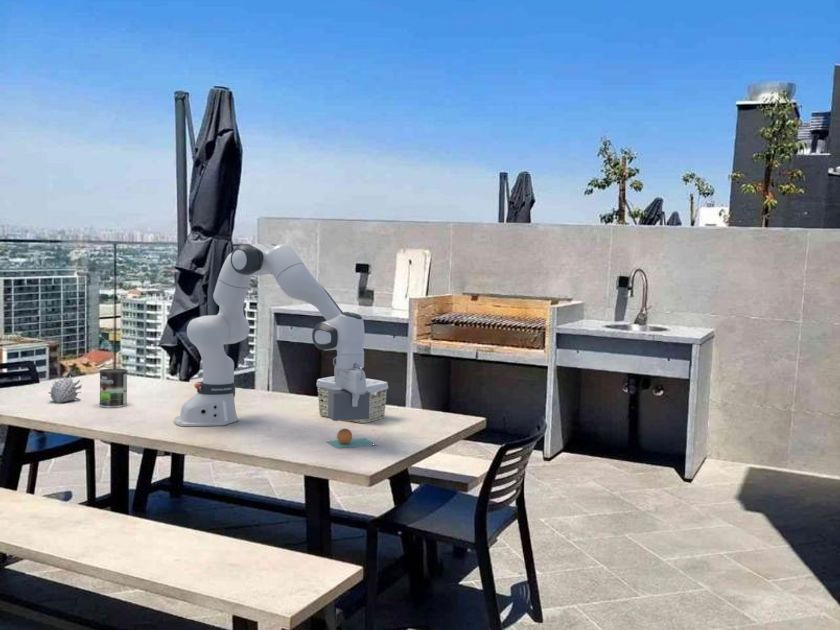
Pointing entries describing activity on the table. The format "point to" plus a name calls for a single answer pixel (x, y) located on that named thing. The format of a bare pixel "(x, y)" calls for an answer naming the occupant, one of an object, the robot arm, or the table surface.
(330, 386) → the storage basket
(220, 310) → the robot arm
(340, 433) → the ball
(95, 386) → the table surface
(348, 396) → the slate gray brick
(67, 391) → the sea urchin
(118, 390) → the coffee can
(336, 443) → the teal flat pad
